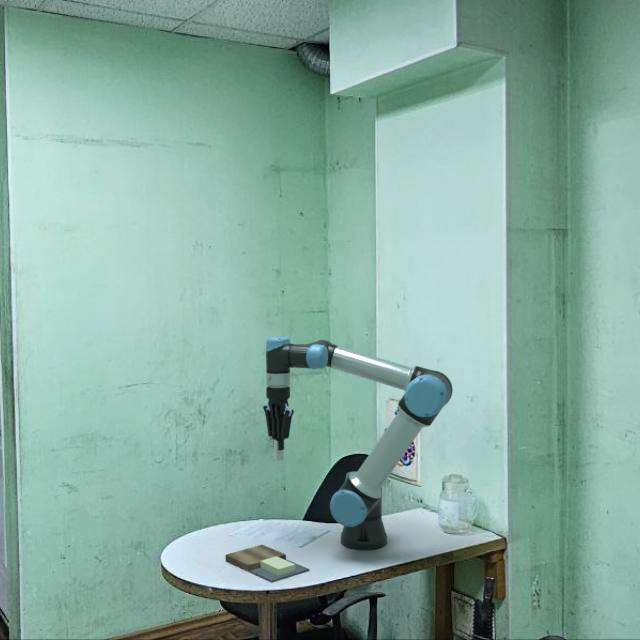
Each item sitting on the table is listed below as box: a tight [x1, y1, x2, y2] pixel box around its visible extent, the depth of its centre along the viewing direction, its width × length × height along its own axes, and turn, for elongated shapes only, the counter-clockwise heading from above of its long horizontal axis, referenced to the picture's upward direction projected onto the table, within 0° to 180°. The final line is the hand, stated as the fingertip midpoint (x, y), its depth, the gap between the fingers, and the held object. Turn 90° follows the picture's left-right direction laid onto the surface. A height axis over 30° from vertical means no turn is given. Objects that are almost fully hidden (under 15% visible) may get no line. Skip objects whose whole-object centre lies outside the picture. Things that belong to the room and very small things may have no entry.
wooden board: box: [225, 544, 287, 573], centre depth 255 cm, size 14×12×2 cm
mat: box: [249, 559, 310, 583], centre depth 246 cm, size 14×10×1 cm
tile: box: [260, 556, 295, 576], centre depth 246 cm, size 9×6×2 cm, turn 40°
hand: (278, 459), depth 265 cm, fingers closed
